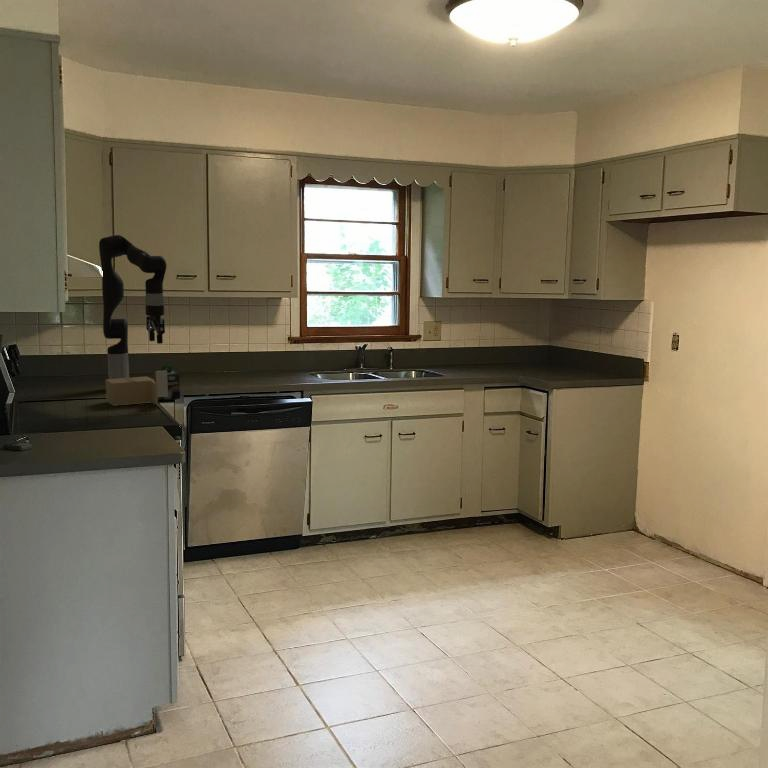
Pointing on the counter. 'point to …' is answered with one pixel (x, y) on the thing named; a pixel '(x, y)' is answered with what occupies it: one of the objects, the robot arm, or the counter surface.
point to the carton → (128, 390)
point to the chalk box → (171, 383)
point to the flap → (159, 386)
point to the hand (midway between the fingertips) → (155, 342)
